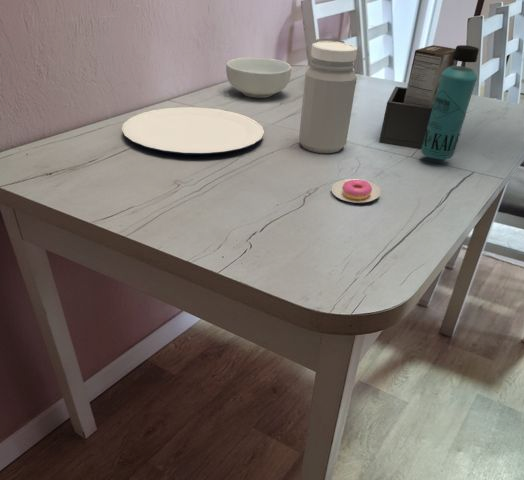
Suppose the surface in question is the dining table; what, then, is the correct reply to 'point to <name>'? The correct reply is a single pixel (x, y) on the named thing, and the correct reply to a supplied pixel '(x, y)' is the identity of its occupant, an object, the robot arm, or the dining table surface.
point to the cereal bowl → (258, 76)
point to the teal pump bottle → (450, 106)
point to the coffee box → (427, 74)
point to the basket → (404, 121)
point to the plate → (193, 130)
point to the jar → (328, 97)
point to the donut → (356, 190)
